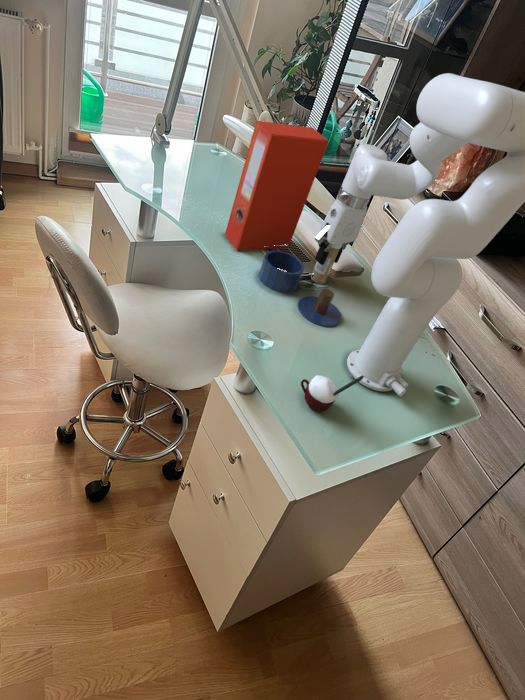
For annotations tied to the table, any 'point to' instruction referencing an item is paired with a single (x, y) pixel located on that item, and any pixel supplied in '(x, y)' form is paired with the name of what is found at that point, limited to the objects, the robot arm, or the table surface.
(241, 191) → the file binder
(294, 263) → the pot
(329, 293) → the pot lid
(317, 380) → the cocoa
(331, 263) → the sprinkles bottle
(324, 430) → the table surface
